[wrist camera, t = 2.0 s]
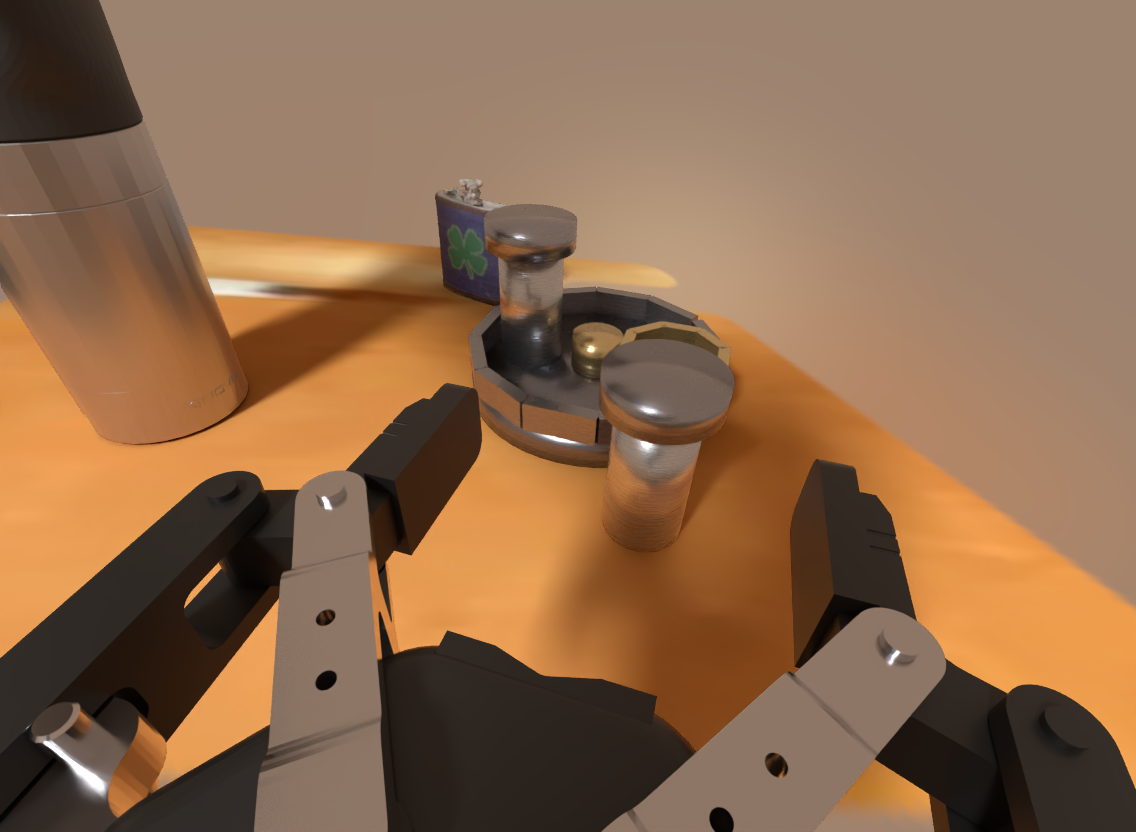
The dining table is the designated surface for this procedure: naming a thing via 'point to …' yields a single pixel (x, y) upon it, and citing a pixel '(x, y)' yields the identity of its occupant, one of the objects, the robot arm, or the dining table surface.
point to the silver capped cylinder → (657, 434)
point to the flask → (467, 243)
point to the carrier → (558, 339)
